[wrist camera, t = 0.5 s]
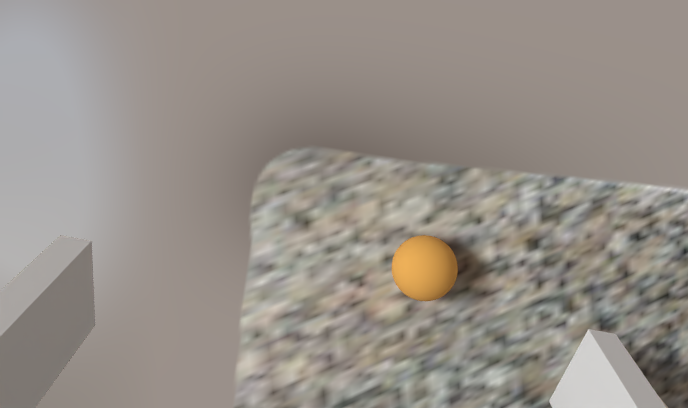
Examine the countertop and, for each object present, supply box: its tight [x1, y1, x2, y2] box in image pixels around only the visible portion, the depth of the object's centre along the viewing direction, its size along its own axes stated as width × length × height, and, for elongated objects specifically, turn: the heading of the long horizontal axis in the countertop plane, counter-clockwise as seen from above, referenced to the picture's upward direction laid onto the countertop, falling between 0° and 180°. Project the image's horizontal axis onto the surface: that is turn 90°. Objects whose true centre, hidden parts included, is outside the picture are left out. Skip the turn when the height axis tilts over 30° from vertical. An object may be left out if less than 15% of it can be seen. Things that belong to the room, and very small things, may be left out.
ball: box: [392, 235, 458, 301], centre depth 41 cm, size 6×6×6 cm
